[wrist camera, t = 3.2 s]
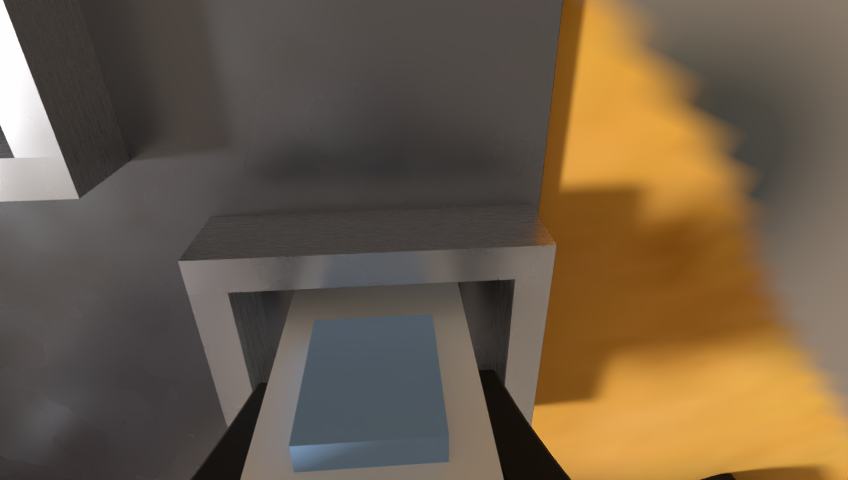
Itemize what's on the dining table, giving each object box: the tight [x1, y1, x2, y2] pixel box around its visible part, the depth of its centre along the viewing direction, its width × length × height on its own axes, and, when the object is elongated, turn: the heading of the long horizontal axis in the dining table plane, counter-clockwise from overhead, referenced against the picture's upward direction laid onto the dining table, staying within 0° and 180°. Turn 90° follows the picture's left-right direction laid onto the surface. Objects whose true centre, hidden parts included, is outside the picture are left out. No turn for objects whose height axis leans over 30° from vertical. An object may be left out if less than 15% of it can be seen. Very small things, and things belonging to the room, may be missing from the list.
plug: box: [240, 282, 504, 480], centre depth 10 cm, size 5×4×7 cm
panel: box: [0, 0, 563, 480], centre depth 10 cm, size 20×18×2 cm
